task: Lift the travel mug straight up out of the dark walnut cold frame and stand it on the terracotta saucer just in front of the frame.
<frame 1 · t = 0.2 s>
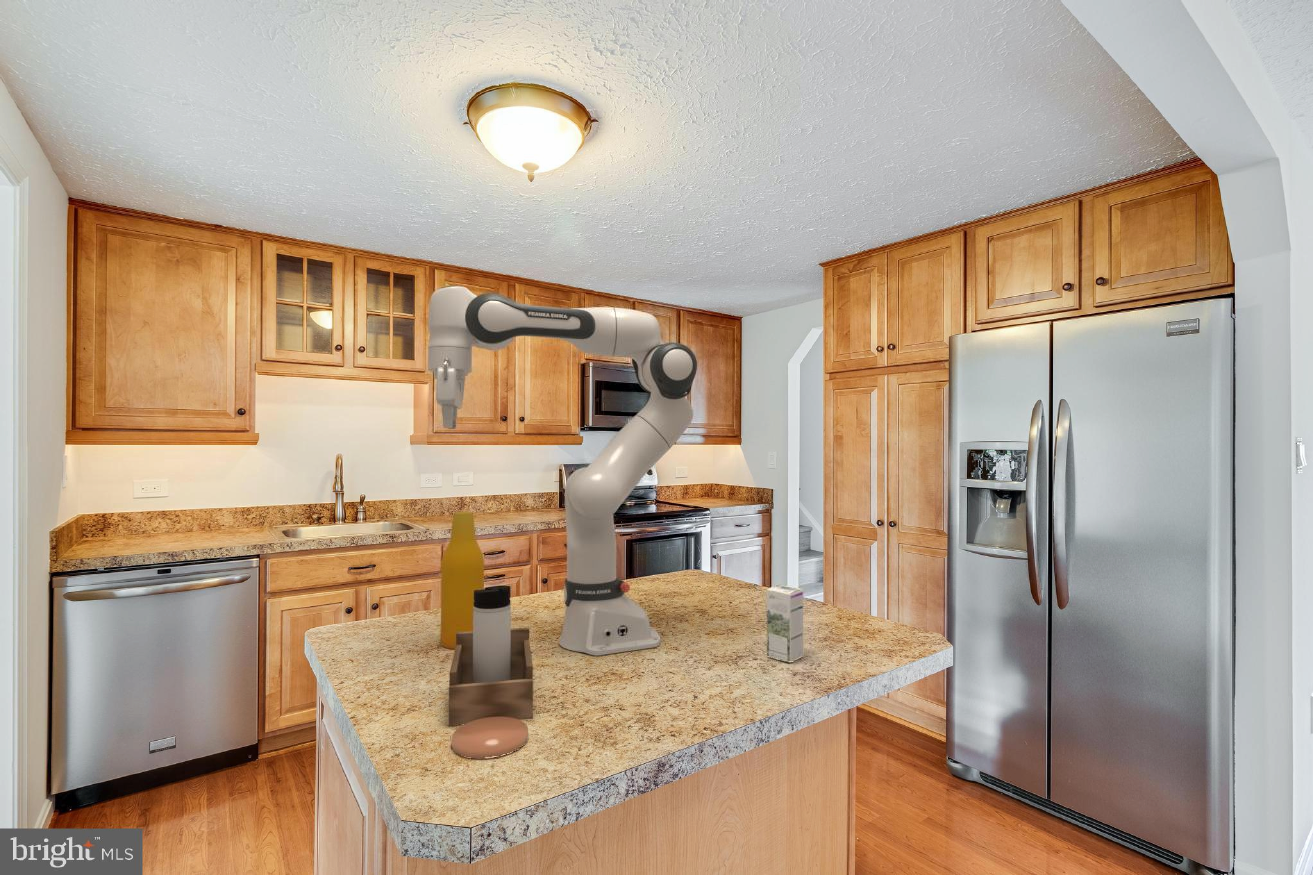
hand: (449, 428, 132), 48 cm above the countertop, tool pointing down, fingers open, 8 cm apart
saucer: (490, 740, 93), on the countertop
cold frame: (492, 701, 107), on the countertop
travel mug: (492, 702, 107), resting in cold frame
syrup box: (785, 658, 130), on the countertop
beer bottle: (462, 643, 139), on the countertop
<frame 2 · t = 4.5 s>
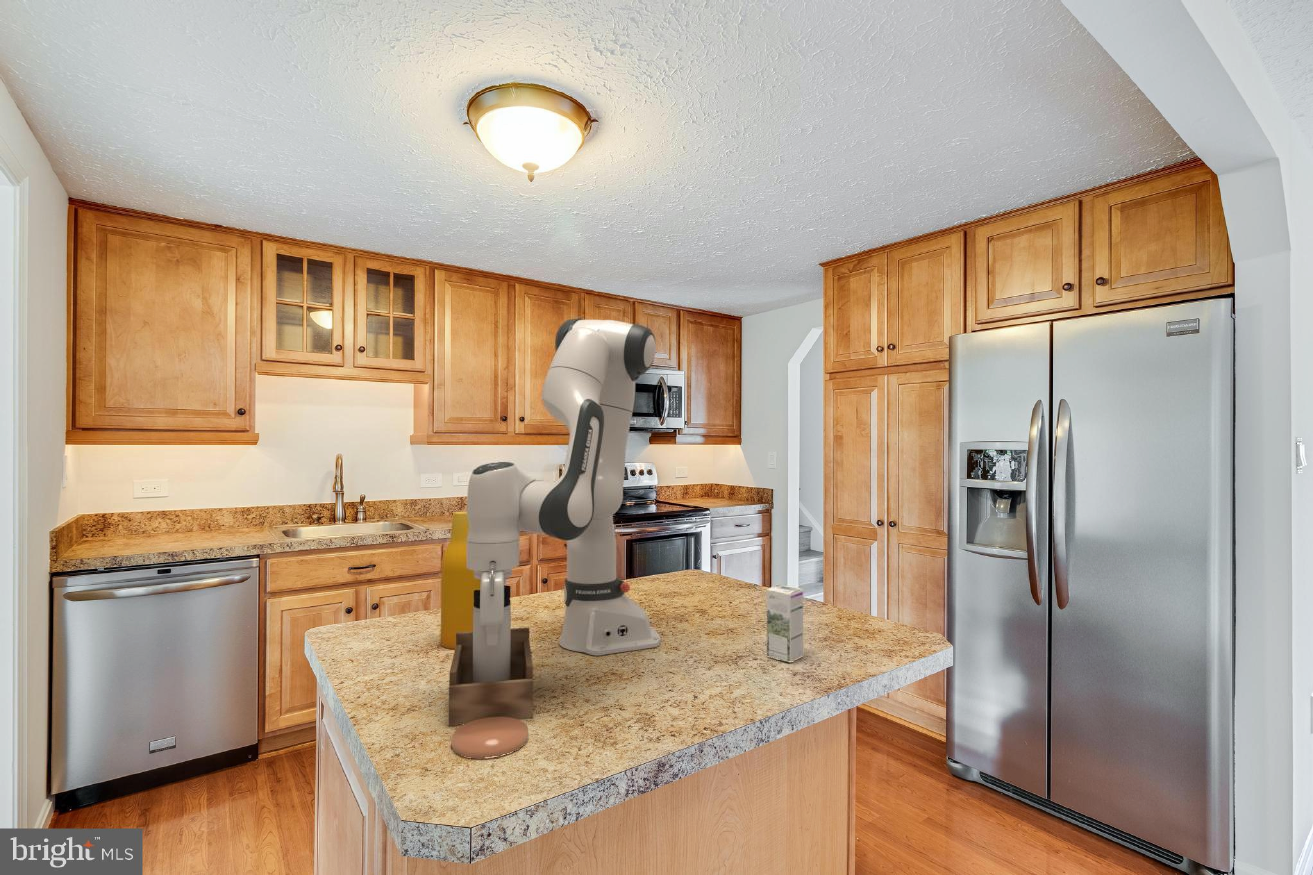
hand: (492, 636, 108), 11 cm above the countertop, tool pointing down, fingers closed on travel mug, 6 cm apart
travel mug: (492, 702, 107), resting in cold frame, touching gripper
everything else where it was.
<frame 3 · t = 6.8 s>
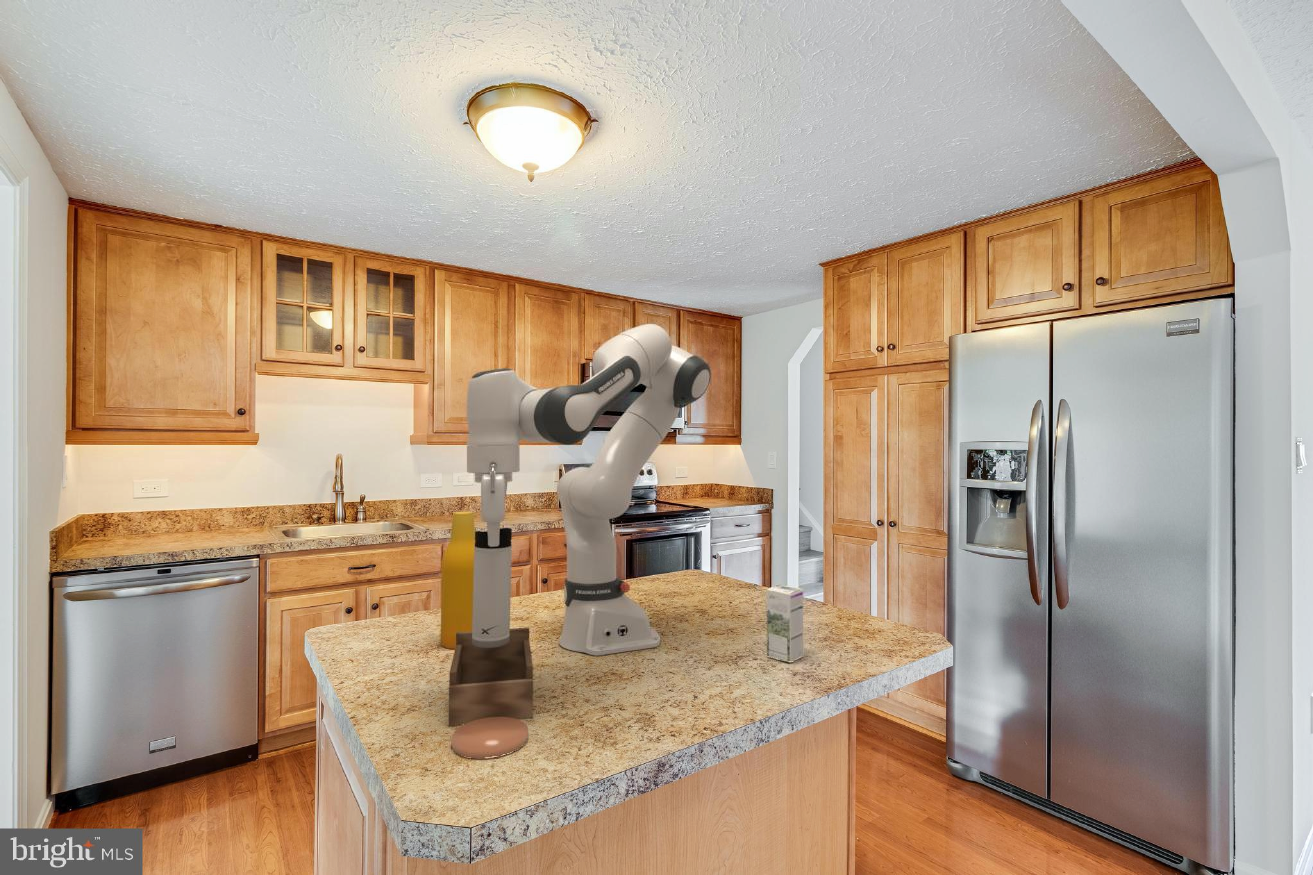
hand: (494, 542, 108), 27 cm above the countertop, tool pointing down, fingers closed on travel mug, 6 cm apart
travel mug: (491, 643, 107), point 10 cm above the countertop, touching gripper
everything else where it was.
when the fingers open (14 cm above the countertop, at t = 12.6 s): travel mug stays where it is, resting on saucer.
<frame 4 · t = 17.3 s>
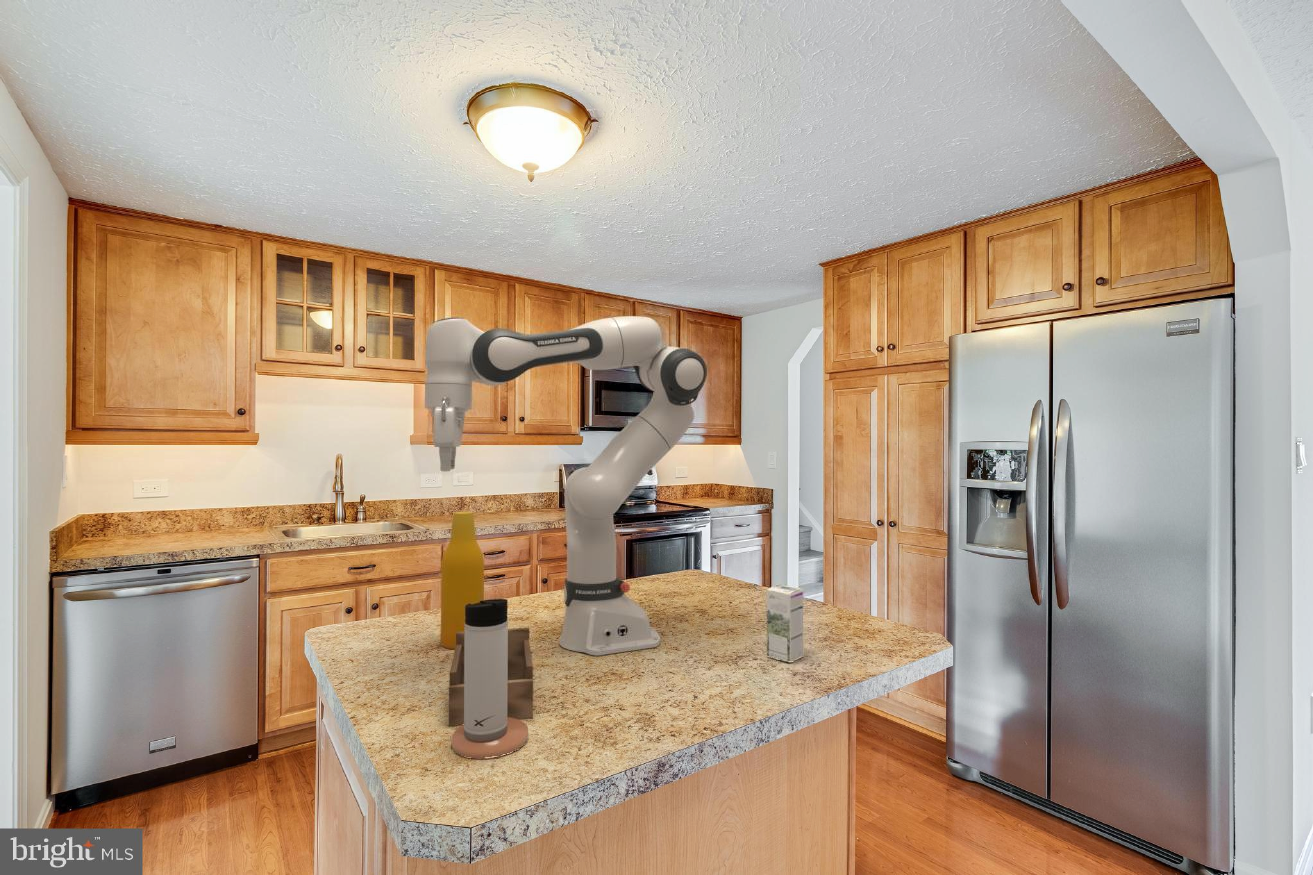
hand: (447, 470, 123), 39 cm above the countertop, tool pointing down, fingers open, 8 cm apart
travel mug: (486, 734, 93), point 1 cm above the countertop, touching saucer
everything else where it was.
at the end: travel mug 0.6 cm off-centre on the saucer, point 1.0 cm above the saucer's base; travel mug tilted 0°; the gripper is holding nothing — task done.
